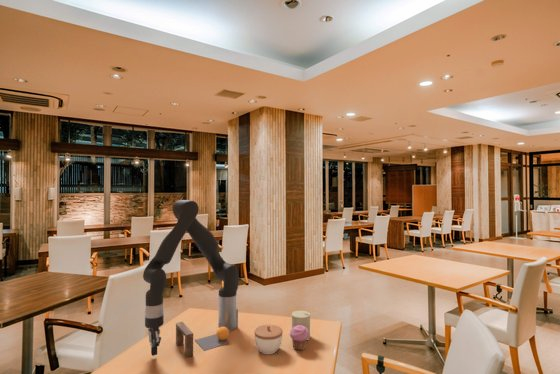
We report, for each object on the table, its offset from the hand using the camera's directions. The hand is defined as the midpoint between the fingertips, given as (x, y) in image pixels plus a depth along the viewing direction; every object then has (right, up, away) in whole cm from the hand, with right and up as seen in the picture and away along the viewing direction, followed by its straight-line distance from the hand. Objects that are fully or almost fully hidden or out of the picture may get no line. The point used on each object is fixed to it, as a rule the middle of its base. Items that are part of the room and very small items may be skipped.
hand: (154, 354), depth 139 cm
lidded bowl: (+49, -2, +7) cm, 49 cm away
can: (+64, -2, +20) cm, 67 cm away
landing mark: (+21, -2, +15) cm, 26 cm away
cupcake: (+63, -2, +9) cm, 64 cm away
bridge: (+11, -2, +7) cm, 13 cm away
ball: (+26, +1, +17) cm, 31 cm away
